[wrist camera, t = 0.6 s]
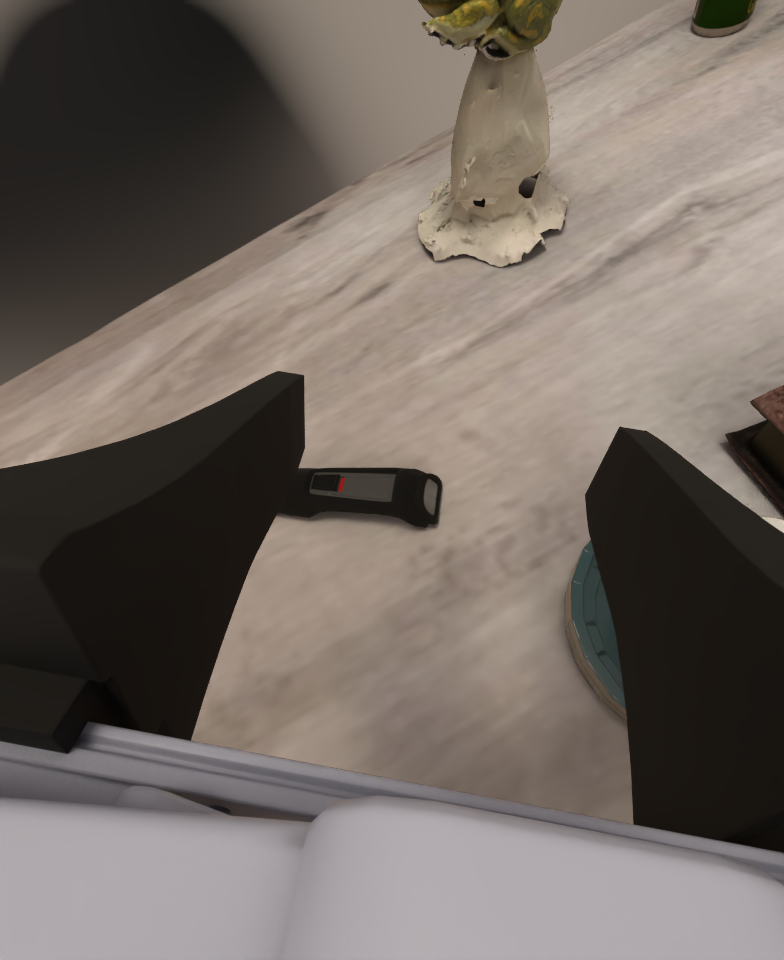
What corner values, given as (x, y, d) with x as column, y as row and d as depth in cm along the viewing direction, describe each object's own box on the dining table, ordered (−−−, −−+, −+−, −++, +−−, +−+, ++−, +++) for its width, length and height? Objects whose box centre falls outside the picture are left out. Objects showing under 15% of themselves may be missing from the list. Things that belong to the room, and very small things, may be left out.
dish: (874, 731, 21) (930, 733, 18) (610, 773, 22) (625, 780, 20) (741, 502, 27) (768, 477, 24) (537, 546, 28) (540, 527, 25)
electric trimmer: (242, 470, 36) (219, 449, 33) (444, 480, 31) (437, 456, 29) (226, 516, 34) (201, 497, 31) (437, 533, 30) (429, 513, 27)
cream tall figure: (446, 176, 47) (413, -107, 31) (581, 177, 42) (624, -155, 26) (403, 258, 42) (339, -21, 26) (549, 269, 38) (577, -60, 22)
